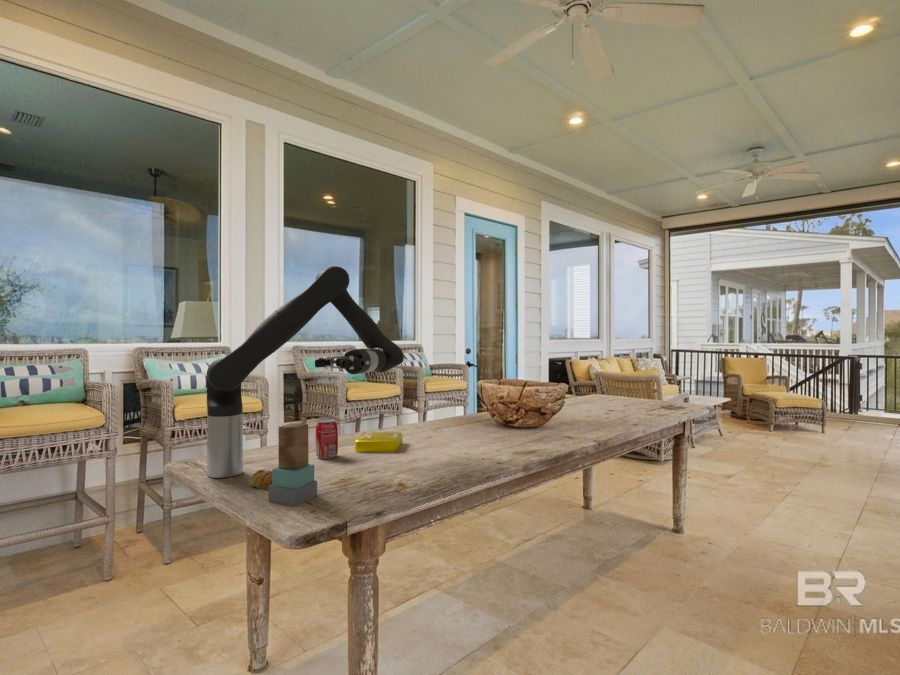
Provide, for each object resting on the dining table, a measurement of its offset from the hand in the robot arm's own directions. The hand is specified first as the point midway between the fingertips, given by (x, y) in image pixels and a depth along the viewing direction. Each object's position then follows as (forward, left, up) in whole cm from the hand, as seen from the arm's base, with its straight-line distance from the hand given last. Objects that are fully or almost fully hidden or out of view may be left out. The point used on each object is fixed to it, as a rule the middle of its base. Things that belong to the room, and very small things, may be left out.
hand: (328, 364), depth 135 cm
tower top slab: (+6, -15, -28) cm, 33 cm away
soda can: (-20, +16, -32) cm, 41 cm away
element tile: (-16, +36, -33) cm, 51 cm away
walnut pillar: (+5, -15, -24) cm, 29 cm away
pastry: (-9, -13, -32) cm, 36 cm away
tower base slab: (+6, -15, -32) cm, 36 cm away
